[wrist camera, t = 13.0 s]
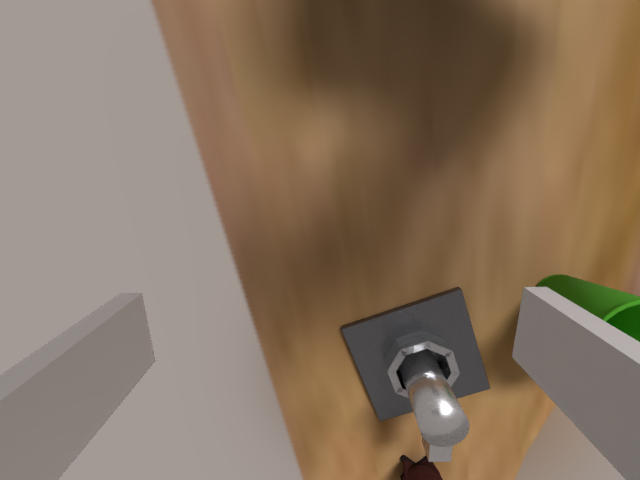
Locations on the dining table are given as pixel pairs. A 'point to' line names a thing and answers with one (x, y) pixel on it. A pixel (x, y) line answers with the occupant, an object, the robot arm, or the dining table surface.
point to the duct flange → (416, 349)
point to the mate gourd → (419, 470)
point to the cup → (600, 302)
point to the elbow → (433, 405)
